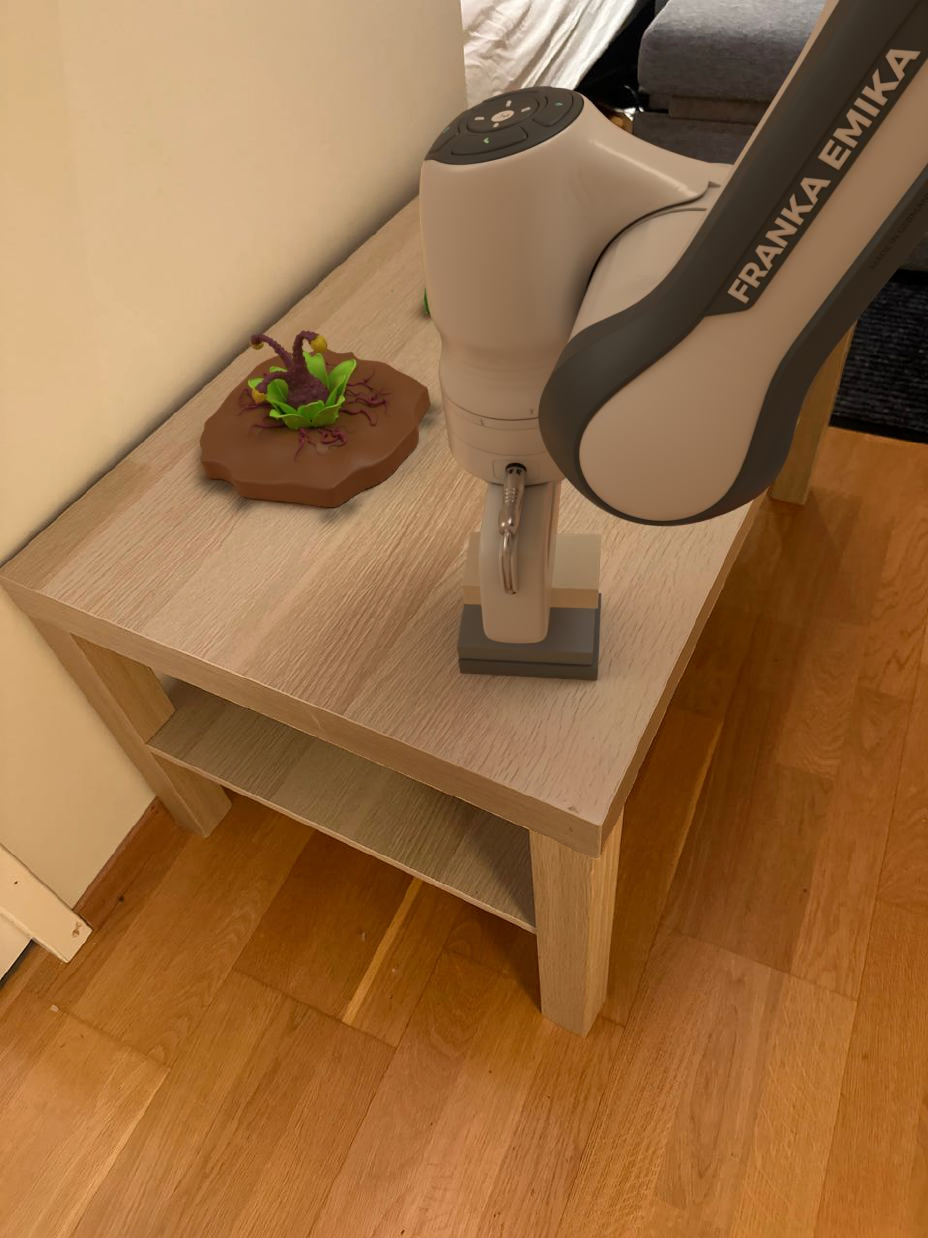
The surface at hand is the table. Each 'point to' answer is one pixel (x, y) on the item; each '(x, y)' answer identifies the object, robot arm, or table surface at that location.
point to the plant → (313, 425)
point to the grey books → (534, 646)
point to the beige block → (570, 574)
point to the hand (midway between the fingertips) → (533, 574)
